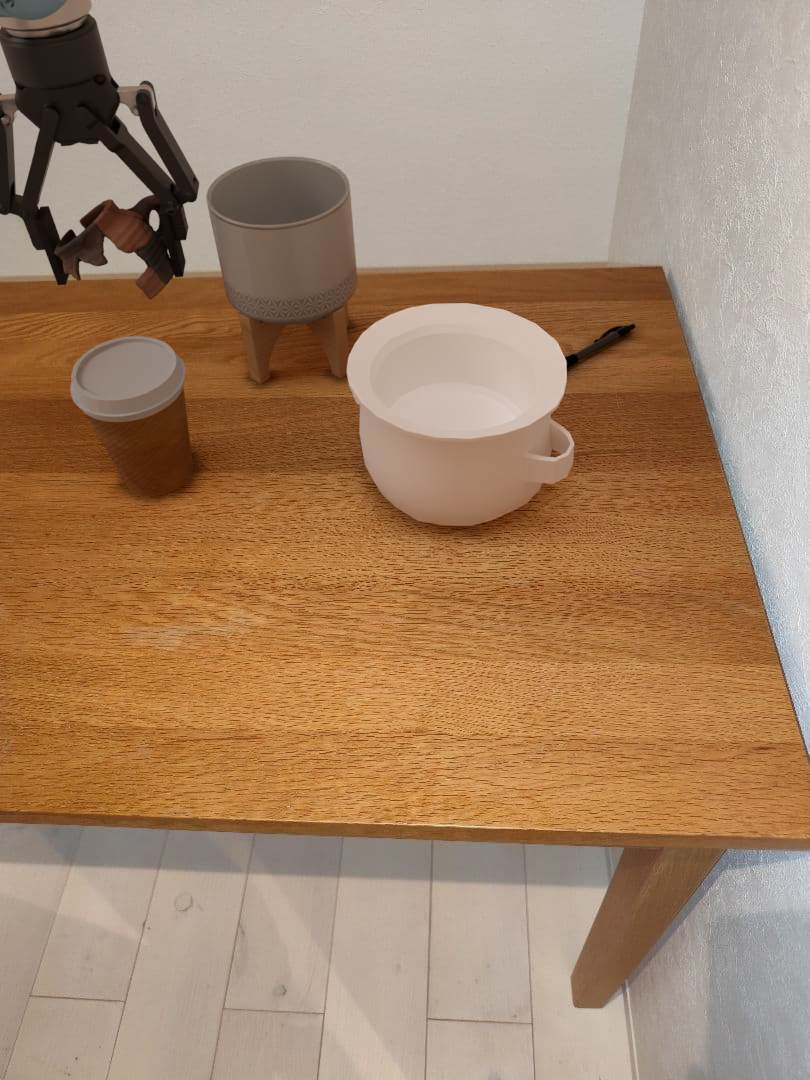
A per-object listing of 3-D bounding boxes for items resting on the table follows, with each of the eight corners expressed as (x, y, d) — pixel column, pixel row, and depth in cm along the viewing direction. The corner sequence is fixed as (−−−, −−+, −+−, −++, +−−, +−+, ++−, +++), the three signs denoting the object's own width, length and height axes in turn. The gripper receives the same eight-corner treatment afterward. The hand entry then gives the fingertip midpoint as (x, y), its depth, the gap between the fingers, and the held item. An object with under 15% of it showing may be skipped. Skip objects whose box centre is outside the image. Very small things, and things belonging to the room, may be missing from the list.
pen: (625, 325, 95) (627, 316, 94) (637, 332, 94) (639, 323, 93) (528, 378, 89) (529, 369, 88) (540, 386, 88) (541, 377, 88)
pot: (300, 479, 81) (281, 371, 72) (413, 381, 90) (410, 273, 81) (504, 590, 72) (513, 481, 63) (608, 467, 81) (629, 357, 72)
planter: (302, 301, 100) (280, 143, 87) (388, 345, 94) (379, 182, 81) (214, 357, 94) (176, 195, 80) (300, 407, 88) (274, 242, 74)
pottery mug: (137, 323, 81) (68, 251, 76) (97, 328, 88) (32, 262, 84) (217, 234, 85) (155, 160, 80) (172, 245, 92) (113, 178, 87)
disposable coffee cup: (85, 483, 82) (40, 378, 73) (159, 425, 87) (126, 320, 78) (158, 524, 78) (121, 419, 69) (232, 461, 83) (206, 355, 74)
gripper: (-120, 48, 66) (-7, 303, 83) (188, 28, 67) (239, 286, 83) (-90, 12, 71) (11, 260, 88) (197, -6, 72) (243, 244, 88)
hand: (122, 273), depth 86 cm, fingers closed on pottery mug, 10 cm apart
